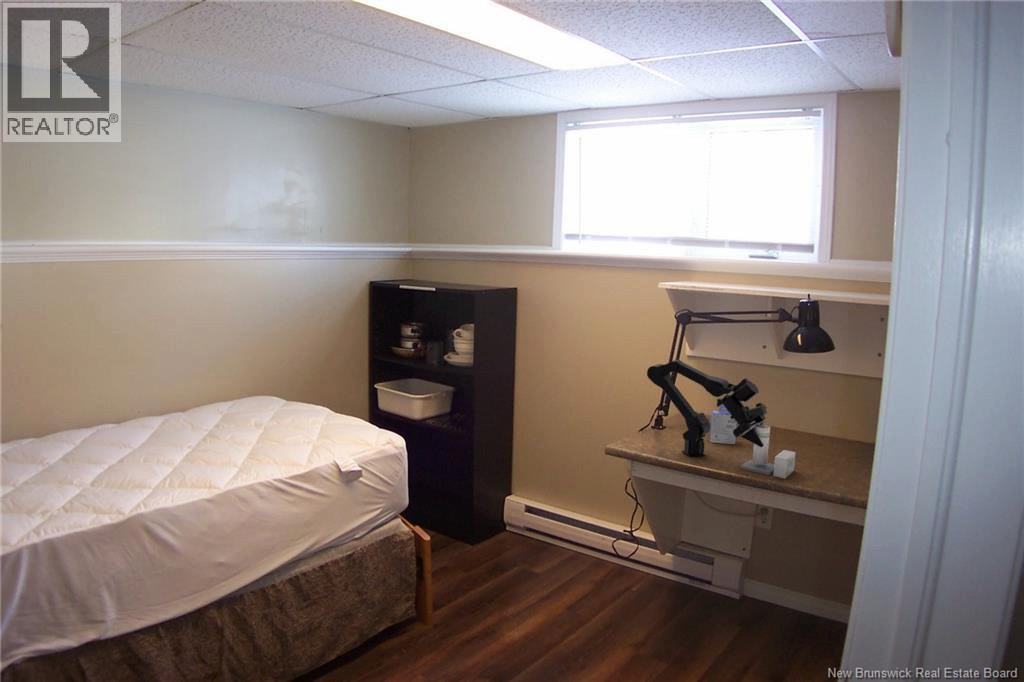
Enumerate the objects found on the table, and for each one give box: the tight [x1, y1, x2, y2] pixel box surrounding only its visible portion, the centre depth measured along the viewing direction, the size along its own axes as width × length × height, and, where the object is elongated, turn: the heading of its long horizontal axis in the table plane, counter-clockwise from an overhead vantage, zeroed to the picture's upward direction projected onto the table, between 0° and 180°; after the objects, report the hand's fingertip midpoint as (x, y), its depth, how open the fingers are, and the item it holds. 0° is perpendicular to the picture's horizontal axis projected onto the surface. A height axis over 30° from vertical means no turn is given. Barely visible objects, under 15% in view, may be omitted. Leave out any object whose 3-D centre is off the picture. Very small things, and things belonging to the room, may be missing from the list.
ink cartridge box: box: [709, 405, 738, 445], centre depth 285 cm, size 10×6×14 cm, turn 78°
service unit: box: [773, 449, 796, 479], centre depth 249 cm, size 4×10×7 cm, turn 143°
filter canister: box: [751, 424, 771, 464], centre depth 253 cm, size 5×5×13 cm
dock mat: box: [740, 459, 774, 476], centre depth 254 cm, size 10×10×1 cm
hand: (765, 444), depth 252 cm, fingers closed on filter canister, 5 cm apart
